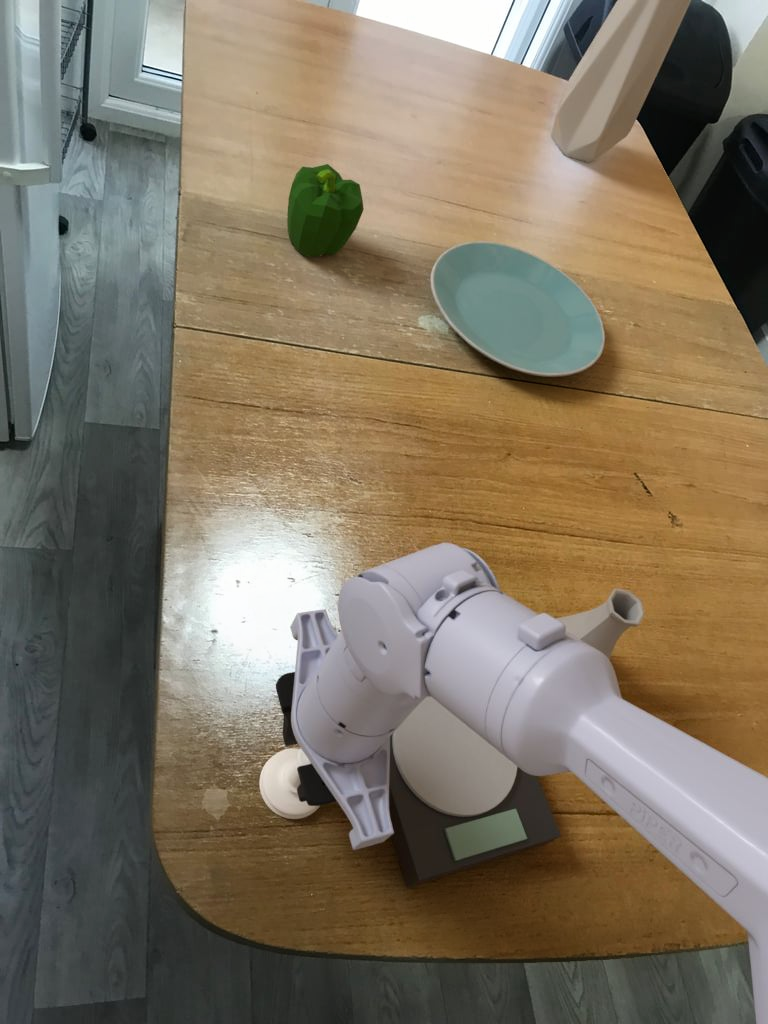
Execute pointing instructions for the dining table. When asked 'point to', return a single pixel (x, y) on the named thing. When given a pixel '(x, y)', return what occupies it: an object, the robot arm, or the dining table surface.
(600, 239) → the dining table surface
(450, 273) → the plate
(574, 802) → the dining table surface
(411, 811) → the scale
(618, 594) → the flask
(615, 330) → the dining table surface
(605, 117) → the vase
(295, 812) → the chess piece
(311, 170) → the bell pepper
